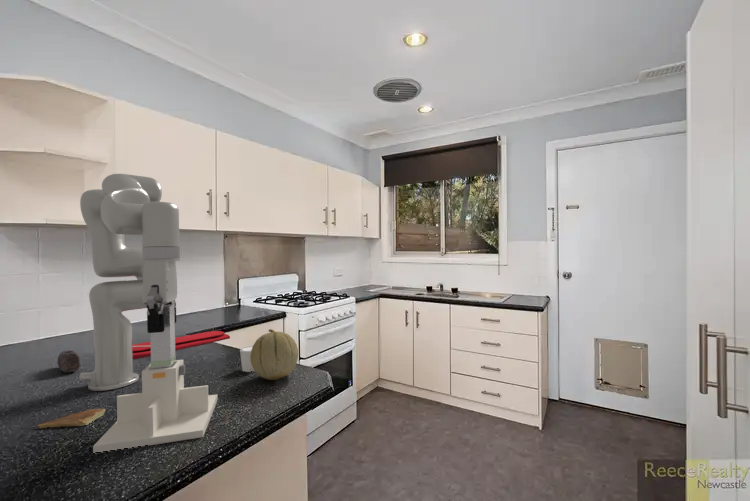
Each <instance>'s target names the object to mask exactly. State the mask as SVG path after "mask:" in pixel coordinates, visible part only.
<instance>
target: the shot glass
mask: <svg viewBox="0 0 750 501" xmlns="http://www.w3.org/2000/svg"><path fill="white" fill-rule="evenodd" d="M252 347H253V345H252V346H245V347H242V348H240V349H239V353H240V354H239V355H240V362H241V371H242V372H244V371H245V372H246V373H251V371H252V372H255V371H254V369H253V367H252V365H251V358H250V357H251V356H250V355H251V350H252Z"/></svg>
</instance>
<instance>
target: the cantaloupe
mask: <svg viewBox="0 0 750 501" xmlns="http://www.w3.org/2000/svg"><path fill="white" fill-rule="evenodd" d="M252 346H253V347H252V350H251V355H250V356H251V357H250V358H251V365H252V367H253V369H254V371H253V372H255V374H257V375H258V376H259V377H261V378H263V379H266V380H267V381H269V380H270V381H277V380H279V379H281V378H284V377H286V376H288V375H289V374H290V373H292V372H293V371H294V369H295V367H296V366H297V363H298V359H299V348H298V345H297V343H296V341H295V339H293V337H292V336H291V335H290V334H288V333H286V332H283V331H275V330H274V329H271V328H270V329H268V332H267V333H264V334H262V335H260V336H259V337H257V339H256V340H255V342H254V344H253V345H252Z"/></svg>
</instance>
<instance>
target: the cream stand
mask: <svg viewBox="0 0 750 501" xmlns="http://www.w3.org/2000/svg"><path fill="white" fill-rule="evenodd" d="M175 363H176V364H175V365H174V366H173V367H170V368H160V369H151V363H149V365H147V366H146V368H144V369H143V370H142V371H141V392H137V393H129V394H120V395H117V396H116V414H117V415H116V416H117V417H116V419H117V421H116V422H115V423H113V425H112V426H110V427H109V429H108V430H107V431H106V432H105V433H104V434H103V435H102V436H101V437H100V438H99V439H98V440H97V441H96V443H95V444H94V445H93V446H92V452H93V453H95V452H101V453H104V452H103V451H108V452H111V451H110V450H115V451H118V450H117V449H121V450H125V449H124V448H128V449H133V448H132V447H134V448H139V447H138V446H141V447H146V446H145V445H148V446H154V445H160V444H166V443H173V442H179V441H186V440H193V439H200V438H203V437H205V433H206V430H207V428H208V426H209V423H210V421H211V418H212V415H213V412H214V411H215V407H216V405H217V404H218V403H217V402H218V399H219V398H218V394H210V395H209V385H208V384H207V385H206V384H205V385H200V386H188V387H185V380H184V379H185V377H184V376H185V375H186V364H184V359H176V360H175ZM93 453H92V454H93ZM95 454H96V453H95Z"/></svg>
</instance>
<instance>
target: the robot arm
mask: <svg viewBox="0 0 750 501" xmlns="http://www.w3.org/2000/svg"><path fill="white" fill-rule="evenodd" d="M162 196H163V194H162V186H161V185H160V183H159V182H158V181H157V179H155V178H152V177H149V176H143V175H142V176H141V175H134V174H127V173H112V174H110V175H106V177H105V178H104V179H103V180H102V182H101V189H100V188H99V189H88V190H86V191H84V192H83V193H82V194H81V196H80V200H79V203H80V206H79V208H80V212H81V216H82V218H83V221H84V223H85V224H86V227H87V229H88V232H89V234H90V241H91V242H90V243H91V254H92V255H91V256H92V265H93V271H94V273H95V275H97V276H98V277H99V278H100V277H101V278H124V277H125V278H126V277H135V278H136V279H131V280H128V279H127V280H114V281H113V280H111V281H103V282H100V283H96V284H95V285H94V286H92V287H91V289H90V291H89V294H88V297H89V298H88V299H89V305H90V308H91V313H92V321H93V323H92V324H93V351H94V352H93V354H94V357H93V361H94V370H93V371H91V372H80V374H79V376H78V377H79V380H80V381H81V382H83V381H89V383H88V384H87V385H88V387H87V388H88V390H90V391H94V392H100V391H110V390H114V389H119V388H123V387H126V386H127V387H128V386H129V385H132V384H134V383H136V382H137V381H139V379H140V374H138V373H137V372H134V369H133V366H134V365H133V364H134V362H133V360H134V359H133V354H132V345H133V325H132V322H131V321H130V319H128V317H126V316H125V315H124V314H123V312H127V311H134V310H135V311H136V310H143V309H147V310H146V323H147V326H146V327H147V333H148V334H150V333H157V332H163V331H164V330H165V327H164V314H162V312H163V308H164V305H168V304H174V312H175V324H177V302H176V299H177V297H178V277H177V275H178V274H177V273H178V272H177V265H176V263H177V262H178V261H181V260H180V258H181V255H180V254H181V253H180V252H181V251H180V249H181V248H180V212H179V211H180V209H179V207H178V206H177V204H175V203H172V202H167V201H166V202H165V201H161V200H162ZM125 235H128V236H129V235H130V236H133V235H135V236H137V235H138V236H139V235H140V236H141V243H142V244H141V247H140V246H137V247H136V246H133V247H132V246H131V247H129V246H127V245H126V241H125V240H126V238H125ZM158 305H159V307H158Z"/></svg>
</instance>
